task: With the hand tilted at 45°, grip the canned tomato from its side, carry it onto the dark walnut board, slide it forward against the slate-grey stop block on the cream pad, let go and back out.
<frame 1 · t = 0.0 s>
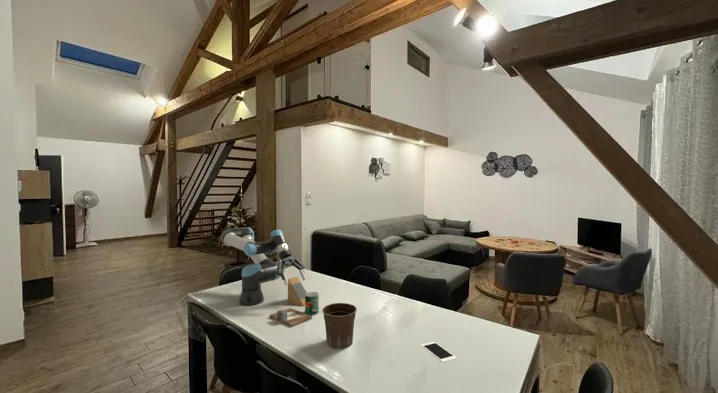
hand: (296, 281, 193), 15 cm above the table, tool tilted 35°, fingers open, 13 cm apart
walnut board: (290, 318, 175), on the table
cell phone: (438, 352, 139), on the table
sandwich container: (300, 302, 201), on the table
canned tomato: (311, 313, 183), on the table
plant pot: (339, 343, 146), on the table
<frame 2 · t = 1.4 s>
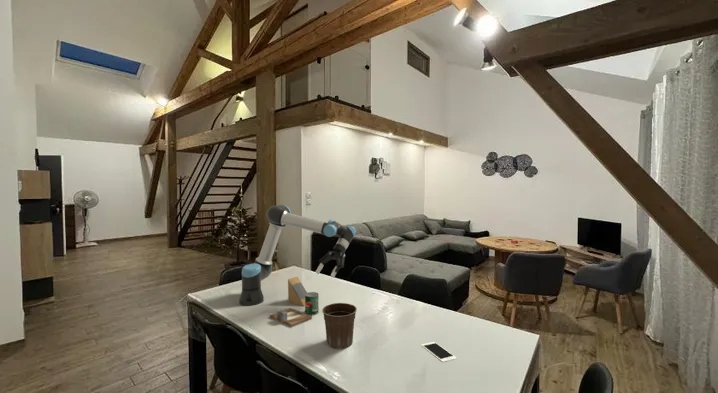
hand: (324, 274, 191), 21 cm above the table, tool tilted 45°, fingers open, 13 cm apart
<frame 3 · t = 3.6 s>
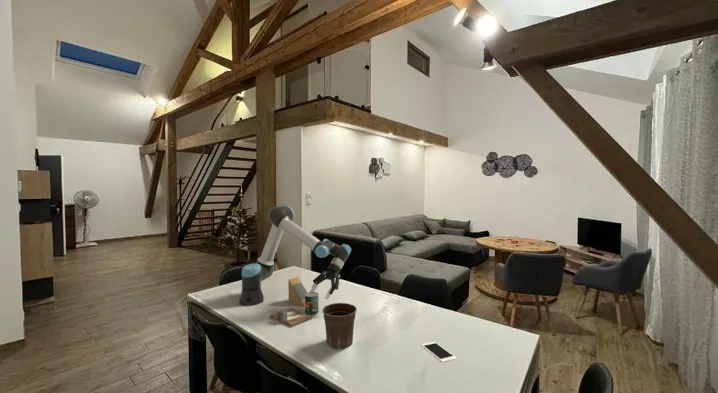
hand: (318, 296, 186), 9 cm above the table, tool tilted 45°, fingers open, 13 cm apart
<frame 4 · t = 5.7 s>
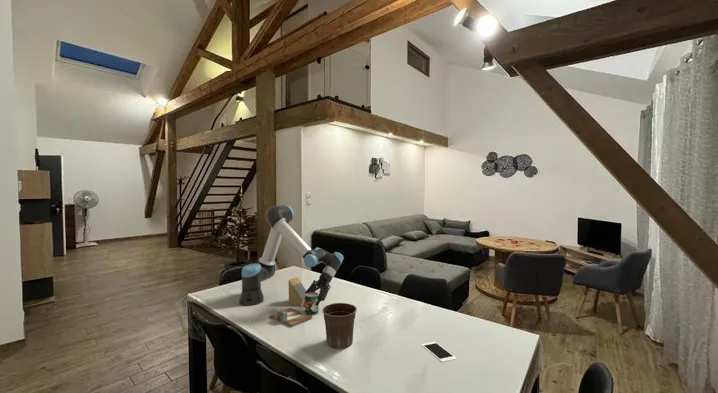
hand: (307, 308, 181), 4 cm above the table, tool tilted 45°, fingers closed on canned tomato, 8 cm apart
canned tomato: (311, 313, 183), on the table, touching gripper
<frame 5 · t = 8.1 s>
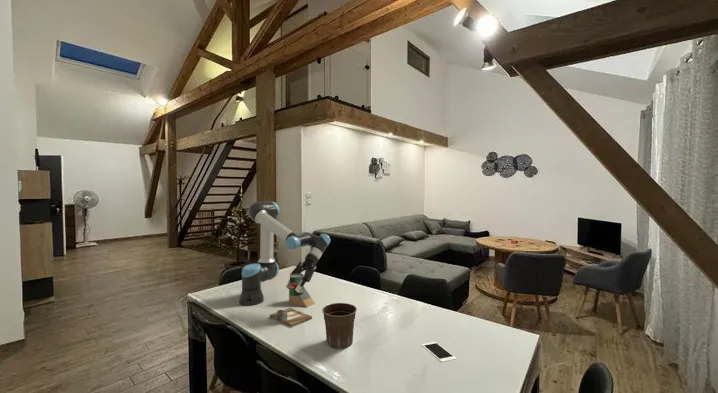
hand: (291, 289, 175), 16 cm above the table, tool tilted 45°, fingers closed on canned tomato, 8 cm apart
canned tomato: (296, 294, 178), point 12 cm above the table, touching gripper
when the fingers open (6 cm above the table, at t = 10.8 s): canned tomato stays where it is, resting on walnut board.
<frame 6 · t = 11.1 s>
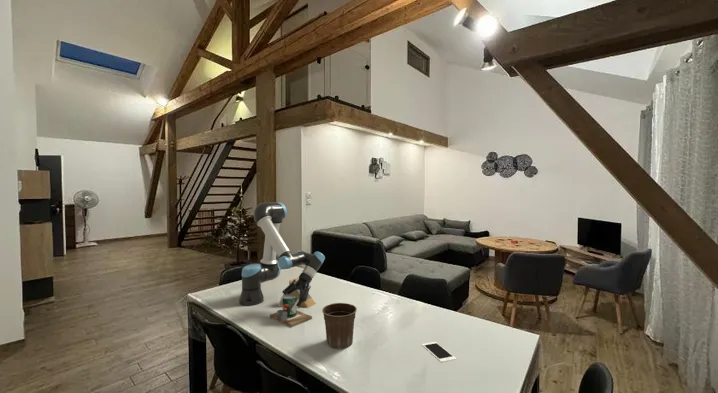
hand: (285, 308, 173), 6 cm above the table, tool tilted 45°, fingers open, 12 cm apart
canned tomato: (289, 315, 175), point 1 cm above the table, touching walnut board
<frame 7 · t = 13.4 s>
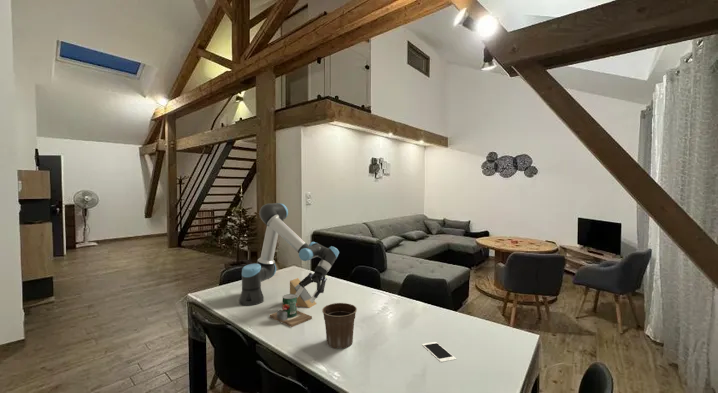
hand: (303, 299, 182), 8 cm above the table, tool tilted 45°, fingers open, 13 cm apart
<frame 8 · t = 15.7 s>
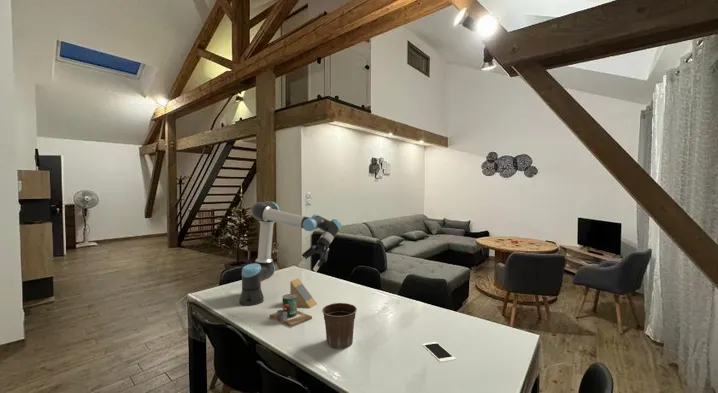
hand: (306, 268, 184), 26 cm above the table, tool tilted 45°, fingers open, 13 cm apart
at the end: canned tomato 0.3 cm off-centre on the walnut board, point 1.4 cm above the walnut board's base; canned tomato tilted 0°; the gripper is holding nothing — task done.
